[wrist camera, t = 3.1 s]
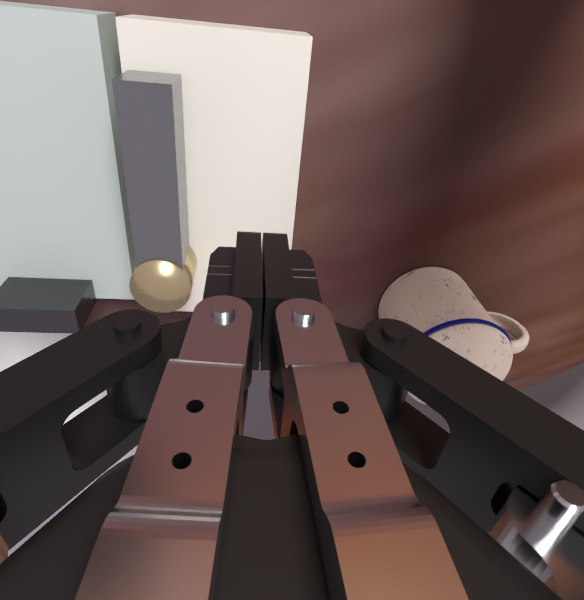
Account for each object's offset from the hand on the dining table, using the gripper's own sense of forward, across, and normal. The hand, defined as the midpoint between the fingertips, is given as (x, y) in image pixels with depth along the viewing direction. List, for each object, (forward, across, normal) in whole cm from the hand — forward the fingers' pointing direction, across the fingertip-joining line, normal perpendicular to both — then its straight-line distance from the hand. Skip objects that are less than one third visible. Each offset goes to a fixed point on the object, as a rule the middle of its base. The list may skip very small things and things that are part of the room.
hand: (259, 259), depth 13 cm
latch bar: (+17, +6, +5) cm, 19 cm away
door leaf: (+22, +16, +4) cm, 27 cm away
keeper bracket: (+18, +15, +13) cm, 27 cm away
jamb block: (+22, +2, +5) cm, 22 cm away
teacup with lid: (+22, -18, +16) cm, 32 cm away
